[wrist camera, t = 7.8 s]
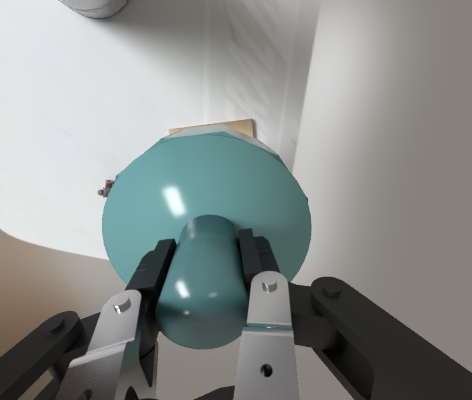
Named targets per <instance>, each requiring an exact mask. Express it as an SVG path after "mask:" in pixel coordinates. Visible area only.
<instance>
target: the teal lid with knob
mask: <svg viewBox="0 0 472 400" xmlns="http://www.w3.org/2000/svg"><path fill="white" fill-rule="evenodd" d="M247 228H252V232H253V235H254V237H258V236H264V237H265V238H266V239H267V240H269V243H270V245H271V248H272V251H273V254H274V256H275V259H276V262H277V264H278V267H279V270H280V273H281V274H282V275H283V276H284V277H285V278H286V279H287V281H289V282H291V281H292V280H293V278H294V277H295V275H296V274H297V273H298V271H299V270H300V268H301V266H302V264H303V262H304V260H305V257H306V255H307V252H308V249H309V244H310V239H311V215H310V211H309V206H308V198H307V197H306V196H305V194H304V193H303V191H302V189H301V187H300V185H299V184H298V182H297V180H295V178H294V177H293V175H292V174H291V173H290V172H289V170H288V169H287V167H286V166H285V164H284V163H283V161H282V160H281V158H280V157H279V155H278V154H276V153H275V152H274V151H272V150H271V149H270V148H268V147H267V146H266V145H265V144H263V143H262V142H261V141H259V140H257V139H255V138H253V137H251V136H248V135H246V134H244V133H242V132H239V131H237V130H235V129H233V128H230V127H228V126H226V125H224V124H218V125H210V126H203V127H195V128H187V129H182V130H179V131H177V132H175V133H173V134H170V135H168V136H166V137H164V138H162V139H160V140H159V141H158V142H157V143H156V144H154V145H153V146H152V147H151V148H150V149H148V150H147V151H146V152H145V153H144V154H142V155H141V156H139V157H138V158H137V159H135V160H134V161H133V162H132V163H131V164H130V165H129V166H128V167H127V168H126V169H124V170H123V171H122V172H121V173H120V174H118V175H117V176H116V179H115V183H114V185H113V186H112V188H111V190H110V192H109V194H108V197H107V200H106V203H105V206H104V211H103V217H102V234H103V241H104V246H105V249H106V252H107V255H108V257H109V260H110V262H111V264H112V266H113V267H114V269H115V270H116V272H117V274H118V275H119V276H120V278H121V279H122V280H123V281H124V282H125V284H127V285H128V283H129V281H130V279H131V278H132V276H133V274H134V272H135V270H136V268H137V266H139V263H140V261H141V259H142V257H143V256H145V255H146V254H147V253H148V252H149V251H152V250H154V249H155V247H156V245H157V243H158V241H159V240H164V239H171V238H174V239H175V241H176V244H177V246H176V249H175V252H174V255H173V258H172V261H171V264H170V267H169V270H168V273H167V276H166V279H165V282H164V285H163V288H162V291H161V294H160V297H159V300H158V303H157V306H156V311H155V319H156V323H157V325H158V328H159V329H160V331H161V332H162V333H163V334H164V335H165V336H166V337H167V338H168V339H170V340H171V341H172V342H174V343H176V344H178V345H181V346H184V347H187V348H192V349H213V348H217V347H221V346H224V345H226V344H229V343H230V342H232V341H234V340H236V339H237V338H238V337H239V336H241V335H242V330H243V326H244V325H247V317H248V309H249V296H248V293H247V290H246V284H245V277H244V270H243V262H242V255H241V248H240V241H239V234H238V230H240V229H247Z"/></svg>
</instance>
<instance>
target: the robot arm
mask: <svg viewBox="0 0 472 400" xmlns="http://www.w3.org/2000/svg"><path fill="white" fill-rule="evenodd" d="M59 1H60V2H62V3H63V4H65V5H66V6H67V7H69V8H70V9H72V10H73V11H75V12H77V13H79V14H81V15H83V16H87V17H91V18H104V17H108V16H111V15H113V14H115V13H117V12H118V11H119V10H120V9H121V8H122V7H123V6H124V5H125V4H126V2H127V1H128V0H59ZM238 234H239V241H240V248H241V255H242V262H243V270H244V277H245V284H246V290H247V293H248V296H249V309H248V317H247V325H244V326H243V330H242V336H241V345H240V352H239V360H238V367H237V375H236V382H235V386H229V387H223V388H219V389H217V390H214V391H212V392H210V393H208V394H205V395H203V396H201V397H199V398H197V399H194V400H300V398H299V387H298V377H297V366H296V357H295V345H301V346H306V347H311V348H312V349H313V350H314V352H315V353H316V354H317V355H318V357H319V358H320V359H321V360H322V361H323V362H324V364H325V365H326V366H327V367H328V369H329V370H330V371H331V372H332V373H333V375H334V376H335V377H336V378H337V379H338V380H339V382H340V383H341V384H342V385H343V387H344V388H345V389H346V390H347V391H348V393H349V394H350V395H351V396H352V397H353V399H354V400H472V373H471V372H470V371H468V370H467V369H465V368H464V367H462V366H461V365H460V364H458V363H457V362H456V361H454V360H453V359H451V358H450V357H449V356H447V355H446V354H444V353H443V352H442V351H440V350H439V349H437V348H436V347H435V346H433V345H432V344H431V343H429V342H428V341H426V340H425V339H424V338H422V337H421V336H419V335H418V334H417V333H415V332H414V331H412V330H411V329H410V328H408V327H406V326H405V325H404V324H403V323H401V322H400V321H398V320H397V319H396V318H394V317H393V316H391V315H390V314H389V313H387V312H386V311H384V310H383V309H382V308H380V307H379V306H377V305H376V304H375V303H373V302H372V301H371V300H369V299H368V298H366V297H365V296H364V295H362V294H361V293H359V292H358V291H357V290H355V289H354V288H352V287H351V286H350V285H348V284H347V283H345V282H344V281H342V280H339V279H337V278H334V277H320V278H318V279H316V280H314V281H313V283H312V285H311V287H310V286H302V285H296V284H293V283H291V282H289V281H287V279H286V278H285V277H284V276H283V275H282V274H281V273H280V270H279V267H278V264H277V262H276V259H275V256H274V254H273V251H272V248H271V245H270V243H269V240H267V239H266V238H265V237H264V236H258V237H254V235H253V232H252V228H247V229H240V230H238ZM176 246H177V244H176V241H175V239H174V238H171V239H164V240H159V241H158V243H157V245H156V247H155V249H154V250H152V251H149V252H148V253H147V254H146V255H145V256H143V257H142V259H141V261H140V263H139V266H137V268H136V270H135V272H134V274H133V276H132V278H131V279H130V281H129V283H128V285H127V287H126V289H125V291H122V292H120V293H118V294H116V295H115V296H113V297H112V298H110V299H109V300H108V301H107V302H106V303H105V305H104V306H103V308H102V311H101V312H99V313H97V314H94V315H91V316H89V317H86V318H83V319H81V320H80V318H79V316H78V314H77V313H76V312H74V311H66V312H62V313H59V314H57V315H55V316H53V317H51V318H49V319H48V320H46V321H45V322H43V323H42V324H41V325H40V326H38V327H37V328H36V329H35V330H33V331H32V332H31V333H30V334H28V335H27V336H26V337H25V338H24V339H22V340H21V341H20V342H19V343H17V344H16V345H15V346H14V347H12V348H11V349H10V350H9V351H8V352H6V353H5V354H4V355H3V356H1V357H0V400H17V399H18V398H19V397H20V396H21V395H22V394H23V393H24V392H25V391H26V390H27V389H28V388H29V387H30V386H31V385H32V384H33V383H34V382H35V381H36V380H37V379H38V378H39V377H40V376H41V375H42V374H43V373H44V372H45V371H46V370H47V369H48V371H49V372H50V374H51V375H52V377H53V379H52V380H51V381H50V383H49V384H48V385H47V386H46V387H45V388H44V389H43V390H42V391H41V392H40V393H39V394H38V395H37V396H36V397H35V398H34V400H157V399H156V385H157V366H158V365H157V364H158V342H157V335H158V332H159V331H160V329H159V328H158V325H157V323H156V319H155V311H156V306H157V303H158V300H159V297H160V294H161V291H162V288H163V285H164V282H165V279H166V276H167V273H168V270H169V267H170V264H171V261H172V258H173V255H174V252H175V249H176ZM294 344H295V345H294Z"/></svg>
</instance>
